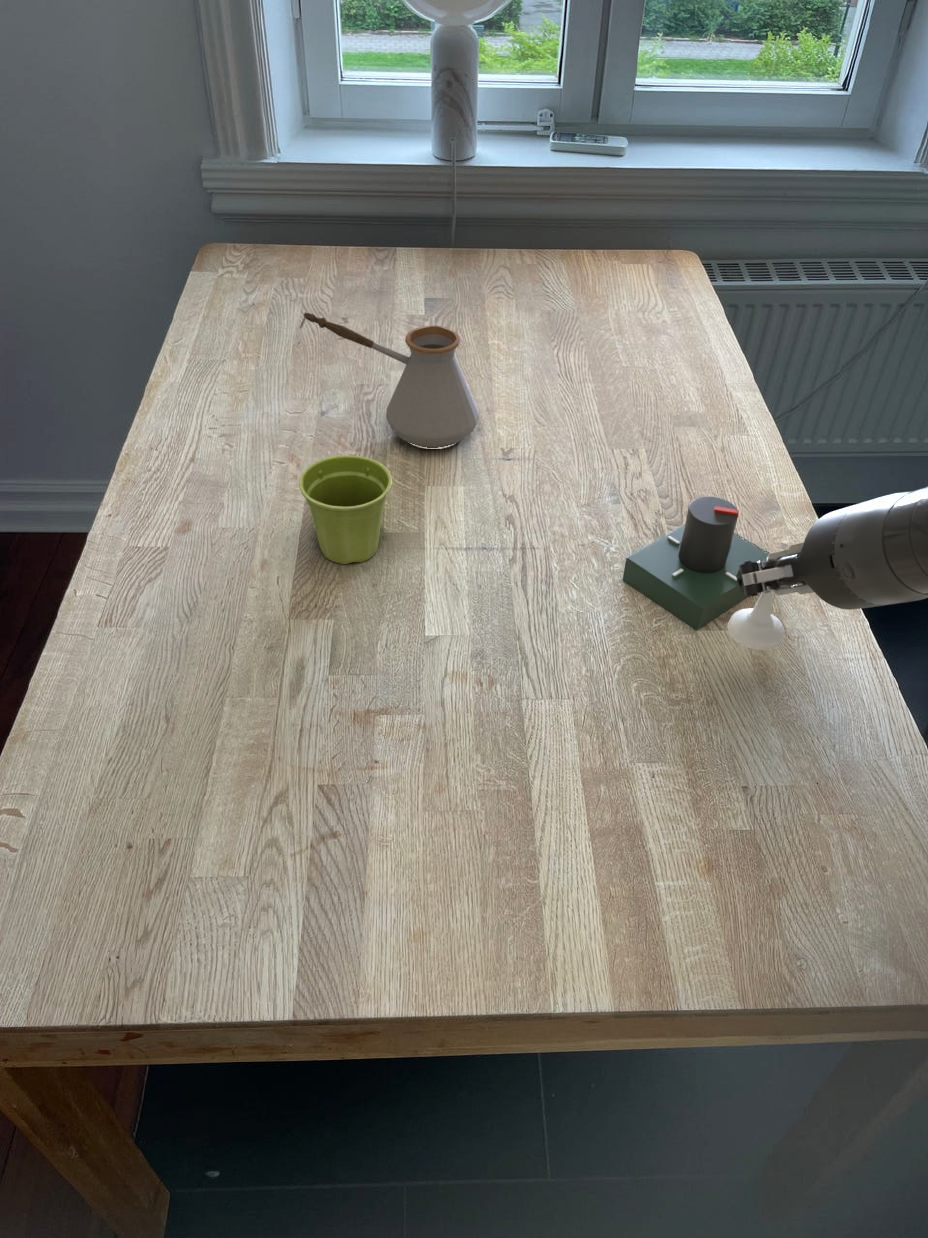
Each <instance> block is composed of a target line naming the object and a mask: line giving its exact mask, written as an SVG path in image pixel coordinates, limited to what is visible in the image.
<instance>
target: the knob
mask: <svg viewBox="0 0 928 1238" xmlns="http://www.w3.org/2000/svg"><path fill="white" fill-rule="evenodd" d="M739 511H740V509H738V508H737V507H736V506H735V505H734V504H733V503H731V502H730V501H729V500H726V499H725V498H721V497H717V496H700V497H697V498H695V499H693V500H692V501H691V502H690V503H689V506H688V509H687V514H686V519H685V523H684V524H685V527H684V532H683V536H682V541H681V546H680V550H679V559H680V561H681V562H682V563H683V564H684V565H685V566H686V567H688V568H689V569H691V570H694V571H697V572H703V573H712V572H716V571H719V570H721V569H722V568H723V567H724V566H725V564H726V560H727V557H728V553H729V549H730V545H731V542H732V538H733V534H735V530H736V526H737V523H738V519H739Z"/></svg>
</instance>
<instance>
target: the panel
mask: <svg viewBox="0 0 928 1238" xmlns="http://www.w3.org/2000/svg"><path fill="white" fill-rule="evenodd" d="M684 527H685V523H684V524H683V525H681V526H679V527H677V528H675V529H674V530H672V531H670V532H668V533H667V534H666V535H663V536H661V537H660V538H658V539H656V540H655V541H653V542H651V543H649V544H647V545H646V546H644V547H642V548H640V549H638V550H637V551H635V552H633V553H632V554H630V555H628V556H627V557H626V558H625V562H624V563H625V564H624V567H623V573H622V574H623V575H622V581H623V582H625V583H627V584H628V585H629V586H631V587H632V588H634V589H635V590H636V591H638V592H639V593H640V594H643V595H644V596H646V597H647V598H648V599H650V600H651V601H652V602H654V603H656V604H657V605H659V606H660V607H662V608H663V609H665V610H666V611H667V612H669V613H671V614H672V615H673V616H675V617H676V618H678V619H679V620H680V621H682V622H683V623H685V624H687V625H688V626H690V627H691V628H692V629H695V631H698V630H700V629H702V628H703V627H705V626H706V625H707V624H709V623H710V622H712V621H713V620H716V619H717V618H719V617H720V616H721V615H723V614H724V613H726V612H727V611H729V610H730V609H732V608H733V607H735V606H736V605H738V604H739V603H741V602H742V601H744V600H745V599H748V597H749V595H744V594H742V592H741V590H740V591H739V588H738V583H737V578H736V575H737V573H738V570H739V566H740V565H742V564H745V563H744V562H747V561H751V562H758V561H763V560H764V562H765V561H766V560H767V557H768V556H769V555H770V554H769V553H767V552H765V551H763V550H762V549H760V548H758V547H756V546H755V545H754V544H753V543H750V542H749V541H746V540H745V539H743V538H742V537H740V536H738V535H737V534H736V533H734V534H733V538H732V542H731V545H730V549H729V553H728V557H727V560H726V564H725V566H724V567H723V568H722V569H721V570H719V571H716V572H712V573H703V572H697V571H694V570H691V569H689V568H688V567H686V566H685V565H684V564H683V563H682V562H681V561H680V559H679V550H680V546H681V541H682V536H683V532H684Z"/></svg>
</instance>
